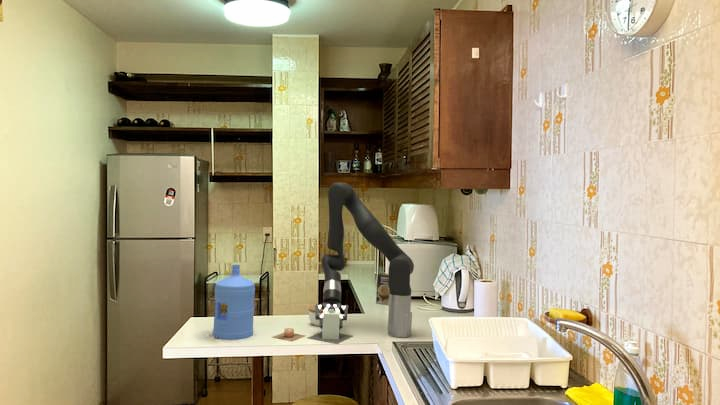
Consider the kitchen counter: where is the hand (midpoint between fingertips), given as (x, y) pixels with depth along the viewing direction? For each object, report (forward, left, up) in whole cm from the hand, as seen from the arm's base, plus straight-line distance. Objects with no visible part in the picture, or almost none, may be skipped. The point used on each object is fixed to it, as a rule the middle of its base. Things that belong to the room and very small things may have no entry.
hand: (330, 328), depth 198 cm
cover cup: (+1, -1, -4) cm, 4 cm away
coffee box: (+11, -78, -5) cm, 79 cm away
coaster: (+15, +8, -4) cm, 17 cm away
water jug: (+35, +18, -5) cm, 39 cm away
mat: (+1, -1, -4) cm, 5 cm away
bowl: (+15, +8, -4) cm, 17 cm away
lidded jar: (+15, -16, -5) cm, 23 cm away
